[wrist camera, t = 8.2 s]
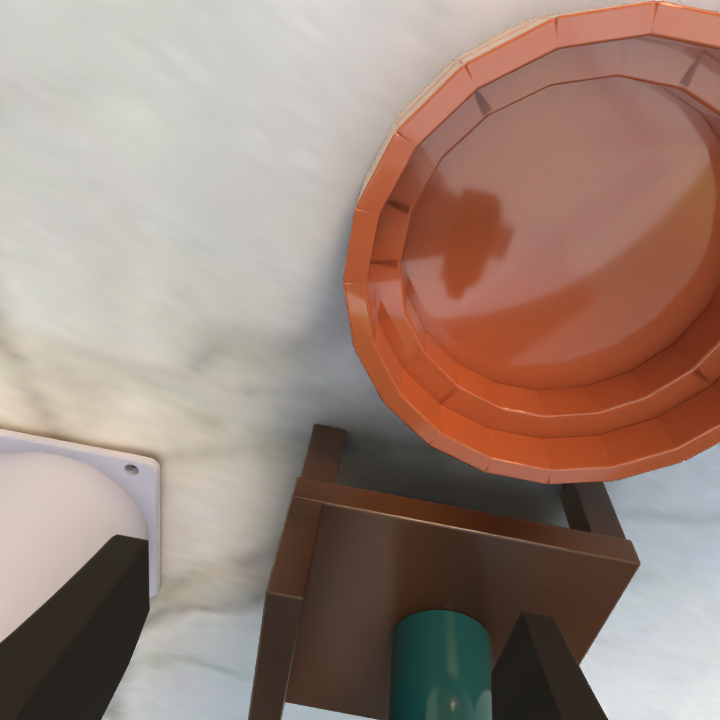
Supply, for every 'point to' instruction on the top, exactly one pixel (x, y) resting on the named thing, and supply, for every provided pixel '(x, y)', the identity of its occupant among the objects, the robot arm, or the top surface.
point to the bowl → (552, 249)
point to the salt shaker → (439, 668)
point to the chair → (417, 581)
